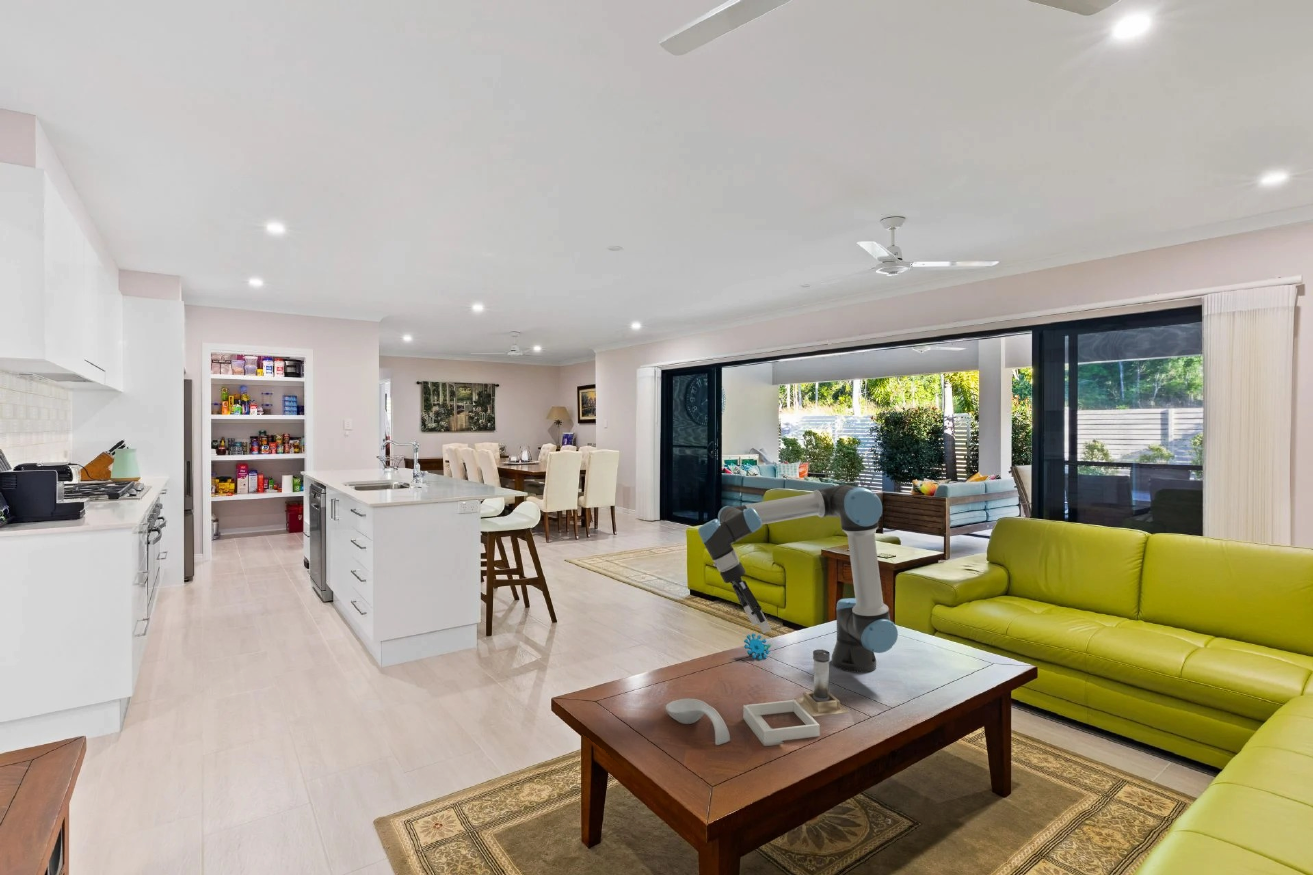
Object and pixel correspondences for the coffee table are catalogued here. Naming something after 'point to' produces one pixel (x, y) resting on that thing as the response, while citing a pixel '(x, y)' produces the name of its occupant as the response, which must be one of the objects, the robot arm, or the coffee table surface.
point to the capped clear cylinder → (821, 675)
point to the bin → (778, 735)
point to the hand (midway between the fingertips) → (762, 627)
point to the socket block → (820, 705)
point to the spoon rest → (698, 716)
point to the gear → (757, 646)
